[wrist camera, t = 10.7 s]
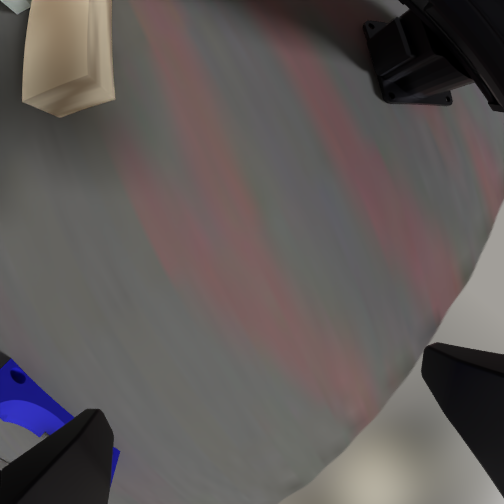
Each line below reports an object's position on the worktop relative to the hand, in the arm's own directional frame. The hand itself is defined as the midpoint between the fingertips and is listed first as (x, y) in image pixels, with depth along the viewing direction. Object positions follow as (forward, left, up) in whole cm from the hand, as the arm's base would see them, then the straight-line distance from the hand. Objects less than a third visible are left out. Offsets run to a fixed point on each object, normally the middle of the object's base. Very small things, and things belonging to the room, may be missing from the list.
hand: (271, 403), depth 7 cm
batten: (+7, -25, -12) cm, 29 cm away
